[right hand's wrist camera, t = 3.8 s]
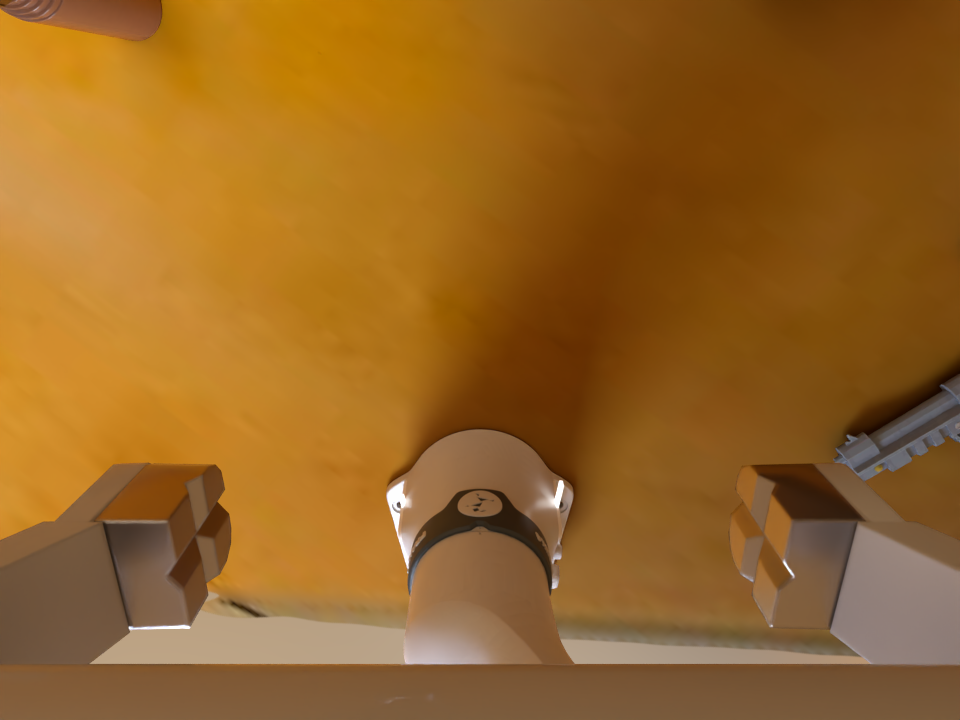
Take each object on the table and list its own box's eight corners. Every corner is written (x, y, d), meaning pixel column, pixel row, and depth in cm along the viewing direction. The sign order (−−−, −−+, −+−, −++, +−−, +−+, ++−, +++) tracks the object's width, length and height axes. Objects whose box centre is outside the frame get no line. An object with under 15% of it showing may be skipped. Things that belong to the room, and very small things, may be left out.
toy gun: (885, 538, 68) (816, 438, 64) (1061, 439, 64) (1000, 326, 60) (907, 562, 64) (836, 458, 60) (1096, 460, 60) (1033, 340, 56)
